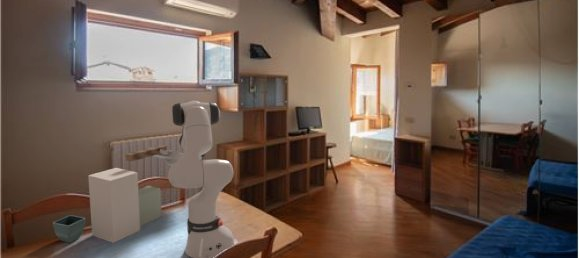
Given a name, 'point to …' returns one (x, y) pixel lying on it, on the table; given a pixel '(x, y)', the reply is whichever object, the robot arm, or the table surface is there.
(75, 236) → the flower pot
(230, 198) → the table surface
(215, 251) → the robot arm
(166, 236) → the table surface
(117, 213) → the tall white pillar
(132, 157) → the walnut bar
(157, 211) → the step
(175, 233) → the table surface
